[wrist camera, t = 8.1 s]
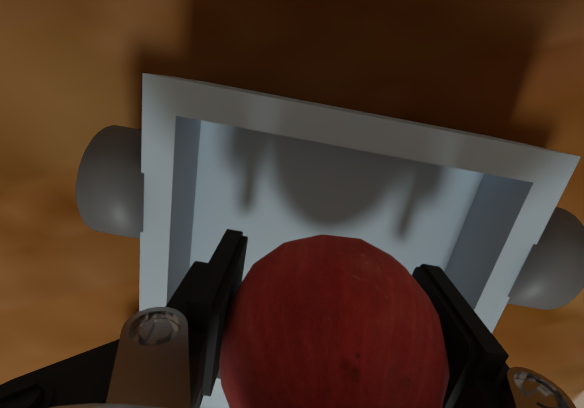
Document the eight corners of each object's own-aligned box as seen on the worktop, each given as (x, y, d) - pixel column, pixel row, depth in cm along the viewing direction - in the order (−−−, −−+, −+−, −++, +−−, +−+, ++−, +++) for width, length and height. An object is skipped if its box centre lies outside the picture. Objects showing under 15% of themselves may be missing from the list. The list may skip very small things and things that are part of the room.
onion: (430, 247, 11) (669, 545, 4) (343, 350, 13) (395, 688, 6) (294, 168, 11) (274, 357, 3) (221, 289, 12) (96, 592, 5)
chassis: (140, 69, 12) (67, 58, 8) (549, 147, 13) (652, 171, 9) (135, 419, 19) (94, 499, 15) (403, 461, 20) (427, 549, 16)
